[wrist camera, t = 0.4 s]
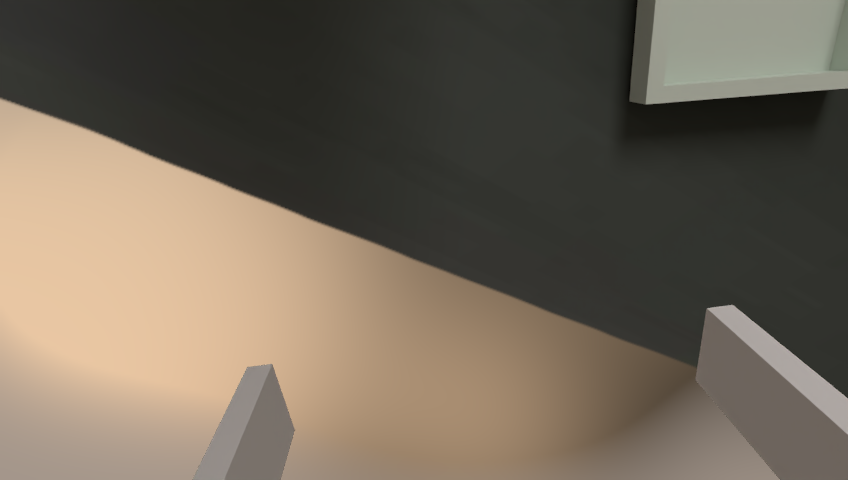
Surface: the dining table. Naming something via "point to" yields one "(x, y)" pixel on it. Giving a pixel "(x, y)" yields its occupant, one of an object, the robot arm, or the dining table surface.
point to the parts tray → (737, 48)
